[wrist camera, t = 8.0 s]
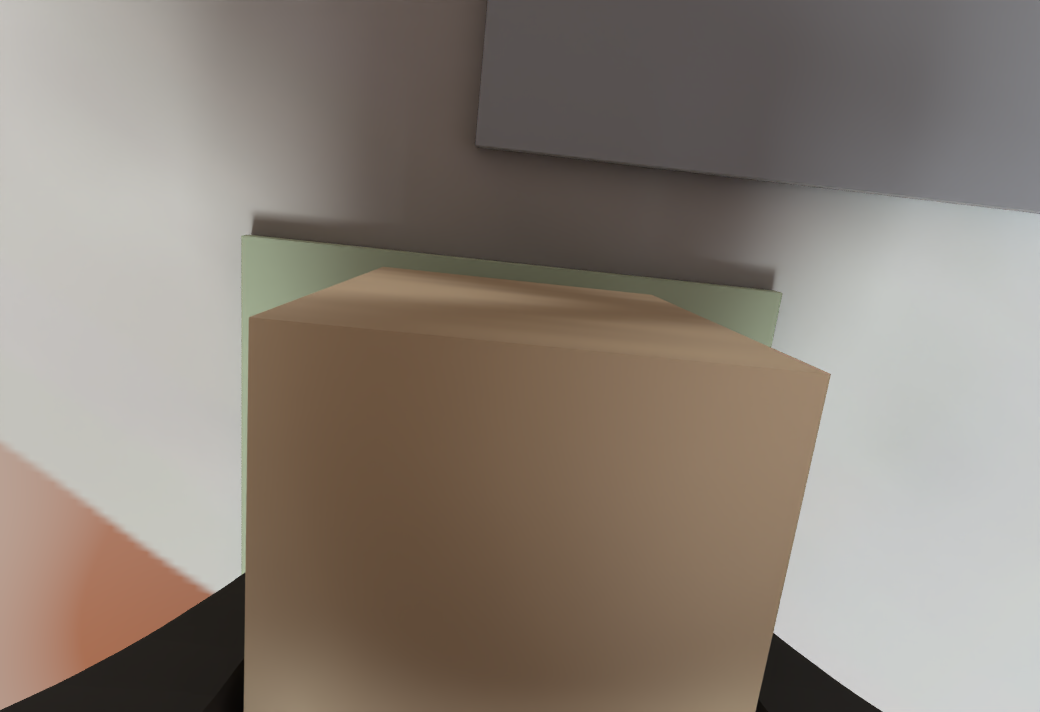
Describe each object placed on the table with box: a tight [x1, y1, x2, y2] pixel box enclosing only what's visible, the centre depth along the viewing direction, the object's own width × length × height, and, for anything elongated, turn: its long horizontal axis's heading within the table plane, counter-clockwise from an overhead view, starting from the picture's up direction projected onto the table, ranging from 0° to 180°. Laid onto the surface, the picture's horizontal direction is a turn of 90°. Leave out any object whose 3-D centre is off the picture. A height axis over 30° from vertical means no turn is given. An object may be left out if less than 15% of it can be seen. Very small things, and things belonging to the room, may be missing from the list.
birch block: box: [244, 267, 831, 712], centre depth 8 cm, size 4×9×6 cm, turn 174°
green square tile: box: [241, 235, 782, 574], centre depth 12 cm, size 10×10×1 cm
